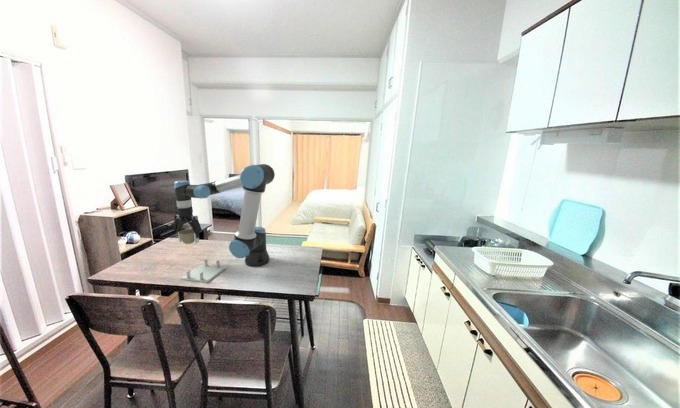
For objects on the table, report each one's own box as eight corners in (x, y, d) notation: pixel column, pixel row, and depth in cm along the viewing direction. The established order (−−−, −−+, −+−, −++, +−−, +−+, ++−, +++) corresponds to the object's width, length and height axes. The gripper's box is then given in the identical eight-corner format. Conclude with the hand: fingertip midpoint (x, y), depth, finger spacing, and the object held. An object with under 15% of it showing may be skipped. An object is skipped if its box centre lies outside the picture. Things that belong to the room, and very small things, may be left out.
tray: (225, 268, 144) (224, 261, 143) (207, 282, 128) (206, 274, 127) (201, 266, 146) (201, 258, 145) (181, 279, 131) (180, 271, 130)
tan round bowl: (189, 246, 139) (188, 234, 138) (175, 244, 141) (173, 233, 140) (202, 240, 149) (201, 229, 147) (188, 238, 151) (187, 228, 149)
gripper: (206, 206, 142) (210, 241, 147) (173, 204, 145) (177, 238, 150) (197, 209, 135) (201, 245, 140) (162, 207, 138) (167, 242, 143)
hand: (189, 242), depth 145 cm, fingers closed on tan round bowl, 10 cm apart
